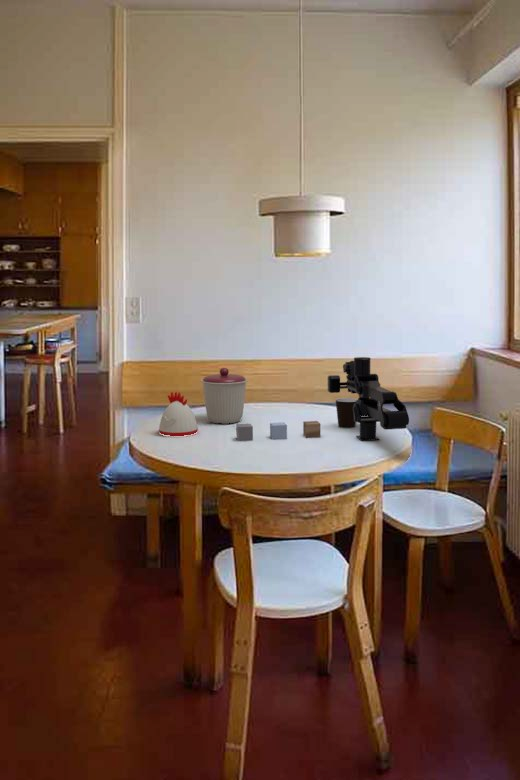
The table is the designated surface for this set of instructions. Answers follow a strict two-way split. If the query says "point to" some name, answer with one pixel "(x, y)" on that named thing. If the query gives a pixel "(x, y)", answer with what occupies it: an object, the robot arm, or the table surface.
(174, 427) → the kitchen timer
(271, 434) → the slate blue block
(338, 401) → the coffee mug
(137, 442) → the table surface
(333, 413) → the table surface
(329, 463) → the table surface
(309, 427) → the walnut block
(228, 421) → the canister
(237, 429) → the charcoal block
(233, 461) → the table surface
